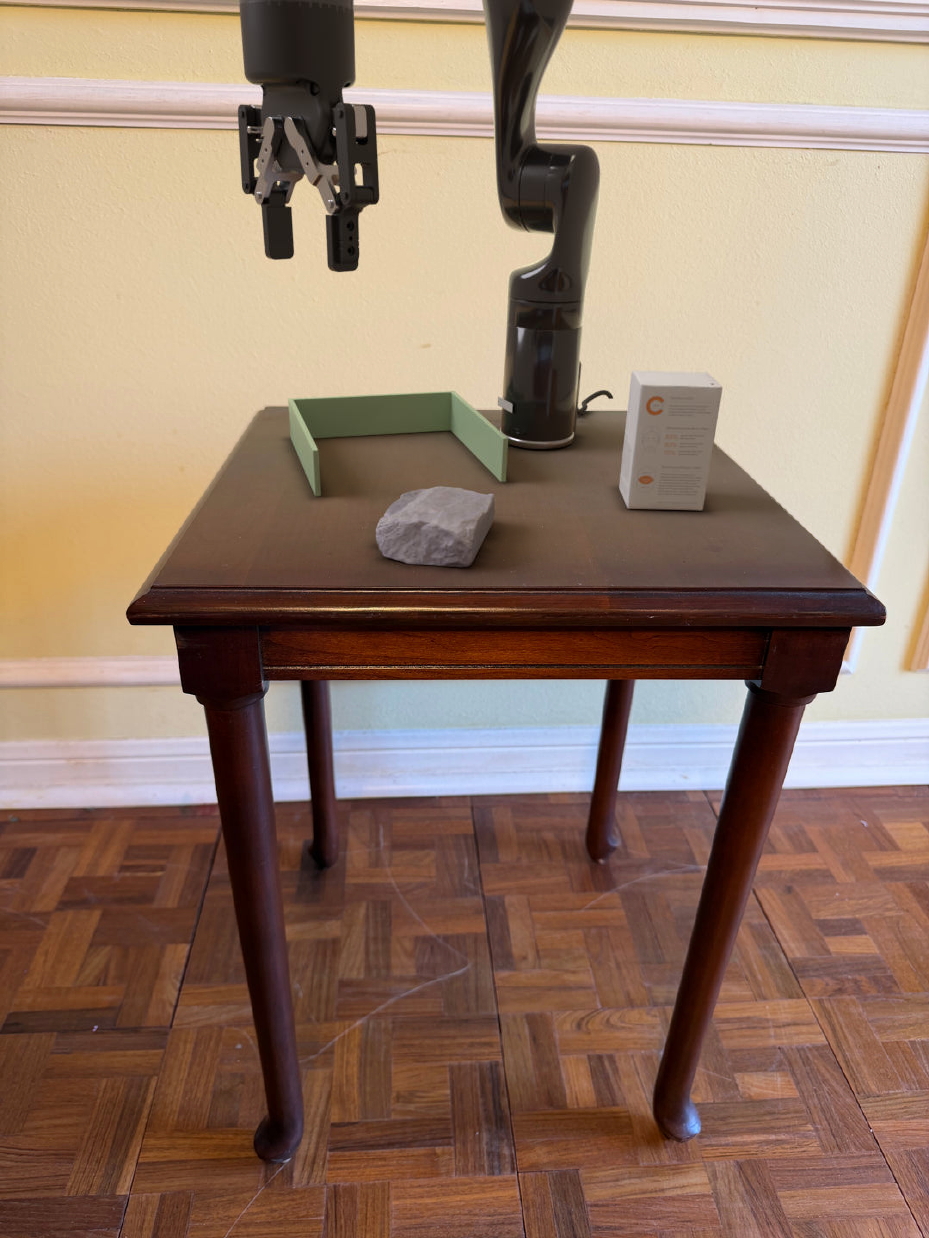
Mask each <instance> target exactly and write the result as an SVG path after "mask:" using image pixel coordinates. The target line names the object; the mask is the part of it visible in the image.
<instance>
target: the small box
mask: <svg viewBox="0 0 929 1238" xmlns="http://www.w3.org/2000/svg"><path fill="white" fill-rule="evenodd" d="M722 394H723V386H722V385H721V384H720V383H719V382H718V381H717V380H716V379H715V378H714V377H713V376H712V375H711V374H710V373H709V372H707V371H706V372H705V371H704V372H703V371H701V372H700V371H660V370H657V371H656V370H632V371H631V375H630V383H629V391H628V401H627V402H628V403H627V411H626V420H625V429H624V437H623V446H622V457H621V465H620V466H621V467H620V475H619V485H618V490H619V492H620V494H621V496H622V499H623V501H624V503H625V506H626V508H627V509H629V510H672V511H673V510H675V511H679V510H680V511H703V510H704V504H705V498H706V492H707V487H708V480H709V477H710V469H711V464H712V457H713V452H714V451H713V450H714V443H715V439H716V438H715V437H716V432H717V431H716V430H717V425H718V419H719V412H720V407H721V400H722Z"/></svg>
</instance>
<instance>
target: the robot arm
mask: <svg viewBox="0 0 929 1238" xmlns="http://www.w3.org/2000/svg"><path fill="white" fill-rule="evenodd" d="M354 3H355V0H238V7H239V20H240V32H241V45H242V47H241V48H242V59H243V72H244V73H243V74H244V78H245V79H246V80H247V82H248V83H250V84H252V85H254V86H260V88H261V90H262V101H261V104H242V103H241V104H239V106H238V108H237V122H238V123H237V124H238V142H239V157H240V158H239V160H240V178H241V188H242V189H241V190H242V191H243V193H244V194H245V195H252V196H253V197H254V200H255V202H256V204H257V205H259V206H260V207H261V220H262V232H263V246H264V254H265V257H266V258H267V259H268V260H274V261H279V260H291V259H292V258H293V257H294V255H295V246H294V245H295V243H294V242H295V241H294V227H293V210H292V206H289V204H290V202H291V199H292V195H293V193H294V189H295V186H296V185H297V183H298V182H300V181H302V180H303V179H304V177H305V176H306V178H307V181H308V182H309V184H311V185H312V186H313V187H315V188H316V189H317V190H318V193H319V195H320V197H321V200H322V203H323V205H324V207H325V209H326V211H327V213H328V214H325V234H326V235H325V237H326V258H327V260H326V261H327V267H328V269H329V270H330V271H331V272H336V273H347V272H355V271H357V269H358V267H359V260H360V241H359V240H360V227H359V226H360V224H359V223H360V221H359V220H360V219H359V218H360V214H361V213H363V211H364V208H367V207H368V206H373V205H374V206H375V205H377V204H378V203H379V201H380V181H379V179H380V178H379V177H380V176H379V158H378V157H379V156H378V138H377V117H376V116H377V115H376V110H375V107H374V106H373V105H372V104H370V103H369V104H368V103H354V102H353V103H350V102H345V101H344V96H343V90H346V89H350V88H352V87H353V86H354V85H355V83H356V79H357V78H356V77H357V76H356V38H355V5H354ZM481 3H482V11H483V16H484V17H483V18H484V24H485V34H486V41H487V51H488V59H489V72H490V80H491V81H490V82H491V91H492V111H493V139H494V143H493V144H494V165H495V166H494V169H495V188H496V196H497V203H498V209H499V212H500V215H501V218H502V221H503V222H504V224H505V225H506V227H507V228H508V229H510V230H511V231H514V232H518V233H526V234H535V235H547V236H549V235H550V236H553V239H552V245H551V248H550V251H549V252H548V253H547V254H546V255H545V256H544V257H542V258H540V259H538V260H537V261H534V262H532V263H529V264H526V265H525V264H524V265H521V266H519V267H516V268H514V269H512V270H511V271H510V272H509V274H508V279H507V291H506V295H507V296H506V309H505V310H506V312H505V333H504V334H505V335H504V337H505V338H504V353H503V356H504V357H503V373H502V374H503V376H502V394H501V395H502V396H501V397H500V396H497V406H498V407H500V408H501V412H500V413H501V416H500V427H499V431H500V432H502V433H503V434H504V435H505V436H506V437H507V438H508V445H511V446H514V447H518V448H523V449H529V450H531V449H533V450H554V449H560V448H565V447H567V446H569V445H571V444H573V442H574V437H575V436H576V431H577V430H576V429H577V419H578V416H579V415H583V413H586V411H587V409H588V407H589V406H588V404H589V403H590V402H592V401H593V400H595V399H596V398H598V397H600V396H601V397H602V396H606V397H607V399H610V400H613V399H614V396H613V394H612V393H611V392H610V391H609V390H608V389H607V390H606V389H602V390H597V391H596V392H594V393H591V394H590V395H589V396H587V397H586V398H584V399H583V400H582V401H581V407H580V408H579V397H580V386H581V377H582V365H583V364H582V362H581V350H582V337H583V326H584V325H583V323H584V312H585V302H586V295H587V285H588V281H589V276H590V271H591V266H592V258H593V249H594V240H595V233H596V225H597V219H598V212H599V207H600V198H601V189H602V188H601V186H602V173H601V164H600V160H599V156H598V154H597V152H596V151H595V149H594V148H592V147H591V146H589V145H588V144H587V145H586V144H579V143H577V144H576V143H559V142H558V143H556V142H555V143H553V142H538V139H537V130H536V129H537V127H536V113H537V102H538V101H537V100H538V95H539V91H540V88H541V84H542V81H543V79H544V76H545V73H546V71H547V69H548V66H549V64H550V62H551V60H552V57H553V55H554V54H555V51H556V50H557V47H558V45H559V43H560V41H561V38H562V36H563V34H564V32H565V29H566V27H567V25H568V22H569V19H570V17H571V14H572V12H573V8H574V4H575V0H481ZM255 161H256V165H255ZM356 165H359V166H360V167H361V174H362V184H357V181H356V175H357V173H358V169H357V166H356ZM255 168H256V170H257V171H258V173H259V175H258V176H255ZM278 182H279V184H278ZM335 186H337V187H338V189H339V191H337V189H336V187H335ZM287 205H288V206H287Z"/></svg>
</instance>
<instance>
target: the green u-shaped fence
mask: <svg viewBox="0 0 929 1238" xmlns="http://www.w3.org/2000/svg"><path fill="white" fill-rule="evenodd" d="M287 403H288V404H287V405H288V418H289V419H288V420H289V433H290V440H291V443H292V444H293V447H294V449H295V452H296V454H297V456H298V457H297V458H298V459H299V462H300V464H301V466H302V468H303V471H304V473H305V476H306V479H307V480H308V482H309V485H310V487H311V489H312V492H313V494H314V497H321V496H322V492H321V491H322V490H321V489H322V488H321V470H320V454H319V453H320V451H319V449H318V446H317V444H316V443H315V440H314V439H325V438H326V439H328V438H344V437H345V438H346V437H361V436H363V437H364V436H376V435H378V436H379V435H395V434H411V433H413V434H414V433H427V432H429V433H430V432H442V431H450V432H452V433H453V434H454V435H455V436H456V437H457V439H458V440H459V441H460V442H461V443H462V444H463V445H464V446H465V447H466V448H467V449H468V450H469V451H470V452H471V453H472V454H473V456H475V457H476V458H477V459H478V460H479V461H480V462H481V463H482V464H483V465H484V466H485V468H486V469H487V470H489V472H490V473H492V475H493V476H494V477H495V478H496V479H497V480H498V481H499V482H500V483H506V482H507V468H508V449H509V444H508V438H507V437H506V436H505V435H504V434H503V433H502V432H500V429H498V428H497V427H496V426H495V425H493V423H491V421H489V420H488V419H487V418H486V417H485V416H484V415H482V414H481V412H479V411H478V410H476V409H475V408H474V407H473V405H471V404H470V403H468V401H467V400H465V399H464V398H463V397H462V396H461V395H460V394H459V393H458V392H456V391H455V390H444V391H443V390H441V391H423V392H402V393H401V392H400V393H399V392H398V393H381V394H380V393H379V394H359V395H358V394H357V395H338V396H337V395H335V396H315V397H314V396H313V397H293V398H287Z"/></svg>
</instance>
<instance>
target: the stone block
mask: <svg viewBox="0 0 929 1238" xmlns="http://www.w3.org/2000/svg"><path fill="white" fill-rule="evenodd" d="M495 495H496V494H494V493H488V494H485V493H480V492H477V491H473V490H469V489H468V490H467V489H464V488H462V487H452V486H443V485H442V486H441V485H440V486H438V485H437V486H434V487H430V488H419V489H416V490H410V491H408V492H405V493H402V494H401V495H400V496H399V497H400V498H399V499H397V500H395V501H394V502H392V503H391V504H390V506H389V507H388V508H387V509H386V511H385V513H384V514H383V516H382V517H381V518H380V519H379V521H378V522H377V526H376V528H375V541H376V544H377V546H378V549H379V551H380V552H381V553H382V556H383V557H385V558H388V559H392V560H395V561H399V562H401V563H402V562H403V563H405V564H407V565H422V566H423V565H424V566H426V565H427V566H439V567H455V568H468V567H470V566H471V565H472V564H473V562H474V560H475V558H476V556H477V554H478V553H479V550H480V549H481V546H482V544H483V542H484V541H485V539H486V537H487V534H488V533H489V531H490V529H491V528H492V526H493V524H494V519H495V513H496V509H495V507H496V505H495V504H496V497H495Z"/></svg>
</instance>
